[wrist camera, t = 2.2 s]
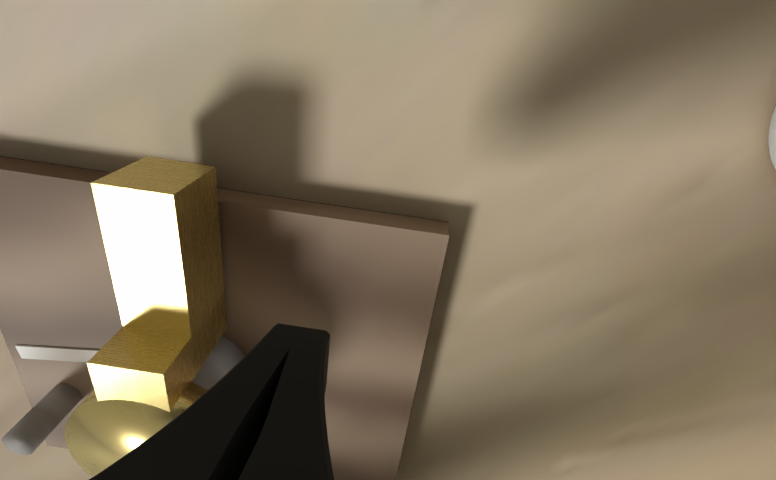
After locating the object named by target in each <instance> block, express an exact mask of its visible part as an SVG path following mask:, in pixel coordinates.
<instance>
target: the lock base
mask: <svg viewBox="0 0 776 480" xmlns="http://www.w3.org/2000/svg"><path fill="white" fill-rule="evenodd" d="M108 174H110V172H103V171H97V170H90V169H83V168H76V167H69V166H63V165H56V164H49V163H42V162H35V161H29V160H22V159H15V158H8V157H2V156H0V329H1V331H2V334H3V336H4V339H5V341H6V344H7V346H8V349H9V351H10V354H11V356H12V359H13V361H14V364H15V366H16V369H17V371H18V374H19V376H20V379H21V381H22V384H23V386H24V389H25V391H26V394H27V396H28V398H29V401H30V403H31V406H32V409H31V410H30V411H29V412H28V413H27V414H26V415H25V416H24V417H23V418H22V419H21V420H20V421H19V422H18V423H17V424H16V425H15V426H14V427H13V428H12V429H11V430H10V431H9V432H8V433H7V434H6V435H5V436H4V437H3V438H2V442H3V444H4V445H5V446H6V447H7V448H8V449H9V450H11V451H13V452H15V453H18V454H21V455H29V454H32V453H33V452H34V450H35V449H36V448H37V447H38V446H39V445H40V444H41V443H42V442H43V441H44V440H45V441H46V443H47V445H48V446H55V447H61V448H68V447H67V445H66V442H65V437H64V429H65V424H66V422H67V419H68V418H69V417H70V415H71V414H72V413H73V412H74V411H75V410H76V409H77V407H78V406H79V405H80V404H81V403H82V402H83V401H84V400H85V399H86V398H87V396H88V395H89V394H90V393H91V392H92V391H93V390H94V386H93V383H92V379H91V376H90V373H89V369H88V366H87V362H88V361H89V360H90V359H91V358H92V357H93V356H94V355H95V354H96V353H97V352H98V351H99V350H100V349H101V348H102V347H103V346H104V345H105V344H106V343H107V342H108V341H109V340H110V339H111V338H112V337H113V336H114V335H115V334H116V333H117V332H118V331H119V330H120V329H121V328H122V327H123V325H122V321H121V316H120V312H119V307H118V303H117V298H116V294H115V289H114V285H113V280H112V276H111V271H110V267H109V262H108V258H107V254H106V249H105V245H104V240H103V236H102V231H101V227H100V222H99V218H98V213H97V209H96V204H95V200H94V195H93V191H92V186H91V182H93V181H95V180H98V179H100V178H102V177H104V176H106V175H108ZM217 195H218V208H219V222H220V236H221V250H222V264H223V277H224V291H225V305H226V319H227V329H226V330H225V332H224V333H223V335H222V336H221V338H220V339H219V341H218V342H217V344H216V346H215V347H214V349H213V350H212V352H211V353H210V355H209V356H208V358H207V359H206V361H205V362H204V364H203V365H202V367H201V369H200V370H199V372H198V373H197V375H196V376H195V378H194V379H193V381H192V382H194V383H196V384H198V385H199V386H201V387H203V388H204V389H206V390H209V389H210V388H211V387H213V386H214V385H215V384H216V383H217V382H218V381H219V380H220V379H221V378H222V377H223V376H225V375H226V374H227V373H228V372H229V371H230V370H231V369H232V368H233V367H234V366H235V365H236V364H237V363H238V362H239V361H240V360H241V359H242V358H243V357H244V356H246V355H247V354H248V353H249V352H250V351H251V350H252V349H253V348H254V346H255V345H256V344H257V343H258V342H259V341H260V340H261V339H262V338H263V337H264V336H265V335H266V334H267V333H268V332H269V331H270V330H271V329H272V328H273V326H275V325H276V324H278V323H280V324H286V325H293V326H300V327H306V328H313V329H319V330H326V331H327V332H328V333H329V334H330V346H329V359H328V372H327V385H326V391H325V396H324V398H325V415H326V425H327V435H328V443H329V451H330V457H331V464H332V470H333V475H334V480H396V476H397V472H398V467H399V462H400V458H401V453H402V449H403V444H404V440H405V435H406V431H407V426H408V422H409V417H410V413H411V408H412V404H413V399H414V395H415V390H416V385H417V381H418V376H419V372H420V367H421V363H422V358H423V354H424V349H425V345H426V340H427V336H428V331H429V327H430V322H431V318H432V313H433V308H434V304H435V299H436V295H437V290H438V286H439V281H440V277H441V272H442V268H443V263H444V259H445V254H446V250H447V245H448V241H449V236H450V235H449V227H448V222H443V221H436V220H429V219H423V218H416V217H409V216H402V215H395V214H389V213H382V212H375V211H368V210H361V209H355V208H348V207H341V206H334V205H327V204H321V203H314V202H307V201H300V200H293V199H287V198H280V197H273V196H266V195H260V194H253V193H246V192H239V191H232V190H226V189H219V188H217Z"/></svg>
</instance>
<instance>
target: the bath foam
mask: <svg viewBox="0 0 776 480" xmlns="http://www.w3.org/2000/svg"><path fill="white" fill-rule="evenodd" d="M768 143H769V153H770V157H771V160H772V163H773V165H774V168H775V169H776V105H775V108H774V111H773V114H772V118H771V122H770V127H769V137H768Z"/></svg>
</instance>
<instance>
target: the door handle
mask: <svg viewBox="0 0 776 480" xmlns="http://www.w3.org/2000/svg"><path fill="white" fill-rule="evenodd" d="M91 186H92V191H93V195H94V200H95V204H96V209H97V213H98V218H99V222H100V227H101V231H102V236H103V240H104V245H105V249H106V254H107V258H108V262H109V267H110V271H111V276H112V280H113V285H114V289H115V294H116V298H117V303H118V307H119V312H120V316H121V321H122V325H123V327H122V328H121V329H120V330H119V331H118V332H117V333H116V334H115V335H114V336H113V337H112V338H111V339H110V340H109V341H108V342H107V343H106V344H105V345H104V346H103V347H102V348H101V349H100V350H99V351H98V352H97V353H96V354H95V355H94V356H93V357H92V358H91V359H90V360H89V361H88V362H87V366H88V369H89V373H90V376H91V379H92V383H93V386H94V390H93V391H92V392H91V393H90V394H89V395H88V396H87V398H86V399H85V400H84V401H83V402H82V403H81V404H80V405H79V406H78V407H77V409H76V410H75V411H74V412H73V413H72V414H71V415H70V417H69V418H68V419H67V422H66V424H65V429H64V437H65V442H66V445H67V447H68V449H69V452H70V453H71V455H72V456H73V458H74V459H75V460H76V462H77V463H78V464H79V465H80V466H81V467H82V468H83V469H84V470H85V471H86V472H87V473H88V474H89V475H91V476H92V477H94V476H95V475H97V474H99V473H100V472H101V471H103V470H104V469H106V468H107V467H109V466H110V465H112V464H113V463H115V462H116V461H118V460H119V459H120V458H122V457H123V456H125V455H126V454H128V453H129V452H131V451H132V450H133V449H135V448H136V447H138V446H139V445H140V444H142V443H143V442H144V441H146V440H147V439H149V438H150V437H151V436H153V435H154V434H155V433H157V432H158V431H159V430H161V429H162V428H163V427H164V426H166V425H167V424H168V423H170V422H171V421H172V420H173V419H175V418H176V417H177V416H178V415H180V414H181V413H182V412H183V411H184V410H186V409H187V408H188V407H189V406H190V405H192V404H193V403H194V402H195V401H196V400H197V399H199V398H200V397H201V396H202V395H203V394H204V393H206V392H207V391H208V390H206V389H204V388H203V387H201V386H199V385H198V384H196V383H194V382H192V381H193V379H194V378H195V376H196V375H197V373H198V372H199V370H200V369H201V367H202V365H203V364H204V362H205V361H206V359H207V358H208V356H209V355H210V353H211V352H212V350H213V349H214V347H215V346H216V344H217V342H218V341H219V339H220V338H221V336H222V335H223V333H224V332H225V330H226V329H227V319H226V305H225V291H224V277H223V264H222V250H221V236H220V222H219V208H218V195H217V181H216V167H215V166H208V165H202V164H195V163H188V162H181V161H174V160H168V159H161V158H154V157H147V156H146V157H144V158H142V159H140V160H138V161H136V162H134V163H132V164H129V165H127V166H125V167H123V168H121V169H119V170H117V171H115V172H112V173H110V174H108V175H106V176H104V177H102V178H100V179H98V180H95V181H93V182H91Z"/></svg>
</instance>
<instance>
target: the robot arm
mask: <svg viewBox="0 0 776 480" xmlns="http://www.w3.org/2000/svg"><path fill="white" fill-rule="evenodd" d="M329 346H330V334H329V333H328V332H327V331H326V330H319V329H313V328H306V327H300V326H293V325H286V324H280V323H278V324H276V325H275V326H273V328H272V329H271V330H270V331H269V332H268V333H267V334H266V335H265V336H264V337H263V338H262V339H261V340H260V341H259V342H258V343H257V344H256V345H255V346H254V348H253V349H252V350H251V351H250V352H249V353H248V354H247V355H246V356H244V357H243V358H242V359H241V360H240V361H239V362H238V363H237V364H236V365H235V366H234V367H233V368H232V369H231V370H230V371H229V372H228V373H227V374H226V375H225V376H223V377H222V378H221V379H220V380H219V381H218V382H217V383H216V384H215V385H214V386H213V387H211V388H210V389H209V390H208V391H207V392H206V393H204V394H203V395H202V396H201V397H200V398H199V399H197V400H196V401H195V402H194V403H193V404H192V405H190V406H189V407H188V408H187V409H186V410H184V411H183V412H182V413H181V414H180V415H178V416H177V417H176V418H175V419H173V420H172V421H171V422H170V423H168V424H167V425H166V426H164V427H163V428H162V429H161V430H159V431H158V432H157V433H155V434H154V435H153V436H151V437H150V438H149V439H147V440H146V441H144V442H143V443H142V444H140V445H139V446H138V447H136V448H135V449H133V450H132V451H131V452H129V453H128V454H126V455H125V456H123V457H122V458H120V459H119V460H118V461H116V462H115V463H113V464H112V465H110V466H109V467H107V468H106V469H104V470H103V471H101V472H100V473H99V474H97V475H95V476H94V477H92V478H91V479H89V480H334V475H333V470H332V464H331V457H330V451H329V443H328V435H327V425H326V415H325V398H324V396H325V391H326V385H327V372H328V359H329Z"/></svg>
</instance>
